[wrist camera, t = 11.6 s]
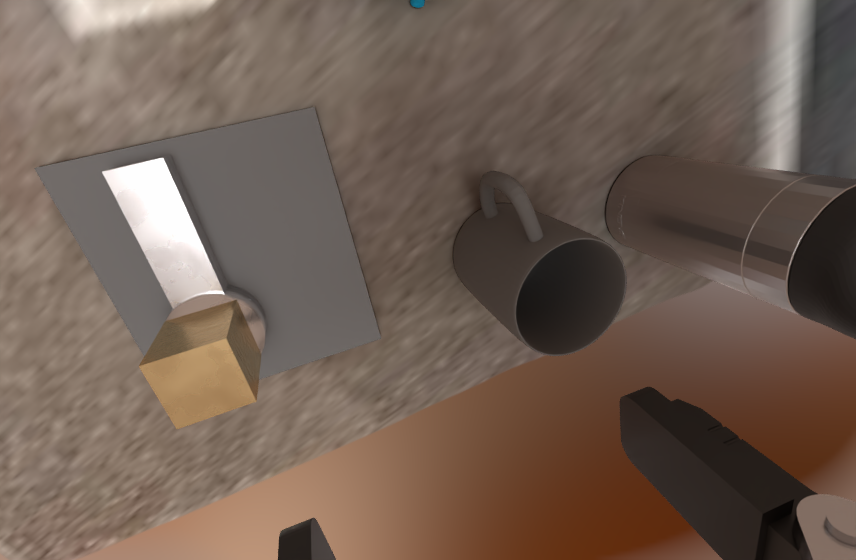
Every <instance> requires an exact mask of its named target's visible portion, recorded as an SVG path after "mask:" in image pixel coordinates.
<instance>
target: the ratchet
mask: <svg viewBox="0 0 856 560" xmlns="http://www.w3.org/2000/svg"><path fill="white" fill-rule="evenodd" d="M102 173H103V175H104V177H105V179H106V181H107V182H108V184H109V186H110V188H111V190H112V192H113V194H114V196H115V198H116V200H117V202H118V204H119V206H120V208H121V209H122V211H123V213H124V215H125V217H126V219H127V221H128V223H129V225H130V227H131V229H132V231H133V233H134V235H135V237H136V238H137V240H138V242H139V244H140V246H141V248H142V250H143V252H144V254H145V256H146V258H147V260H148V262H149V264H150V265H151V267H152V269H153V271H154V273H155V275H156V277H157V279H158V281H159V283H160V285H161V287H162V289H163V291H164V292H165V294H166V296H167V298H168V300H169V302H170V304H171V306H172V308H173V309H172V311H171V312H170V314H169V316H168V318H167V319H166V321H167V320H171V319H174V318H177V317H181V316H184V315H187V314H191V313H194V312H197V311H200V310H204V309H207V308H210V307H214V306H217V305H220V304H224V303H227V302H230V301H234V300H237V301H238V303H239V306H240V308H241V310H242V312H243V315H244V317H245V319H246V321H247V323H248V326H249V328H250V330H251V332H252V335H253V337H254V339H255V341H256V344H257V346H258V348H259V350H260V352H261V353H262V351H263V348H264V344H265V335H266V316H265V313H264V310H263V308H262V306H261V305H260V303H259V302H258V301H257V300H256V299H255V298H254V297H253V296H252V295H251V294H249V293H248V292H246V291H245V290H243V289H240V288H238V287H235V286H232V285H228V283H227V281H226V279H225V276H224V274H223V272H222V270H221V267H220V265H219V263H218V261H217V258H216V256H215V254H214V252H213V249H212V247H211V245H210V243H209V240H208V238H207V236H206V233H205V231H204V229H203V227H202V224H201V222H200V220H199V218H198V215H197V213H196V211H195V209H194V206H193V204H192V202H191V200H190V197H189V195H188V193H187V191H186V188H185V186H184V184H183V182H182V179H181V177H180V175H179V172H178V170H177V168H176V166H175V163H174V161H173V159H172V157H171V155H168V156H164V157H159V158H155V159H150V160H146V161H141V162H137V163H133V164H128V165H124V166H119V167H115V168H111V169H108V170H105V171H102Z"/></svg>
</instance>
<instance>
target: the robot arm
mask: <svg viewBox="0 0 856 560" xmlns="http://www.w3.org/2000/svg"><path fill="white" fill-rule="evenodd" d="M606 221H607V226H608V228H609V231H610V233H611V235H612V236H613V238H614V239H616V240H617V241H618V242H619V243H621V244H623V245H625V246H628V247H630V248H633V249H635V250H638V251H640V252H643V253H645V254H648V255H650V256H652V257H655V258H657V259H660V260H662V261H665V262H667V263H670V264H672V265H675V266H677V267H680V268H682V269H685V270H687V271H690V272H692V273H695V274H697V275H700V276H702V277H705V278H707V279H710V280H712V281H715V282H717V283H720V284H722V285H725V286H727V287H730V288H732V289H735V290H737V291H740V292H742V293H745V294H747V295H750V296H753V297H755V298H758V299H761V300H763V301H765V302H768V303H770V304H773V305H775V306H778V307H780V308H783V309H785V310H788V311H790V312H793V313H795V314H798V315H801V316H803V317H805V318H808V319H810V320H813V321H816V322H818V323H821V324H823V325H826V326H828V327H830V328H832V329H834V330H837V331H839V332H841V333H843V334H845V335H847V336H850V337H852V338H854V339H856V179H849V178H840V177H832V176H824V175H814V174H806V173H798V172H790V171H781V170H773V169H765V168H757V167H749V166H741V165H733V164H725V163H716V162H708V161H700V160H693V159H685V158H677V157H669V156H660V155H650V156H647V157H643V158H641V159H639V160H637V161H635V162H633V163H632V164H631V165H630V166H628V167H627V168H626V169H625V170H624V171H623V172H622V173H621V175H620V176H619V177H618V179H617V180H616V182H615V183H614V185H613V187H612V189H611V192H610V194H609V197H608V201H607V205H606ZM620 424H621V425H620V426H621V442H622V445H623V448H624V450H625V452H626V454H627V456H628V458H629V459H630V461H631V462H632V463H633V464H634V465H635V466H636V468H637V469H638V470H639V471H640V472H641V473H642V474H643V475H644V476H645V477H646V478H647V479H648V480H649V481H650V482H651V483H652V484H653V486H654V487H655V488H656V489H657V490H658V491H659V492H660V493H661V494H662V495H663V496H664V497H665V498H666V499H667V501H668V502H670V504H671V505H672V506H673V507H674V508H675V509H676V510H677V511H678V512H679V513H680V514H681V515H682V517H683V518H684V519H685V520H686V521H687V522H688V523H689V524H690V525H691V526H692V527H693V528H694V529H695V530H696V531H697V533H698V534H699V535H700V536H701V537H702V538H703V539H704V540H705V541H706V542H707V543H708V544H709V545H710V546H711V547H712V548H713V550H714V551H715V552H716V553H717V554H718V555H719V556H720V557H721V558H722V559H723V560H856V502H854V501H851V500H848V499H845V498H842V497H838V496H833V495H825V494H817V493H815V492H813V491H812V490H810V489H809V488H808V487H806V486H805V485H803V484H802V483H800V482H799V481H798V480H797V479H795V478H794V477H793V476H791V475H790V474H789V473H787V472H786V471H785V470H783V469H782V468H781V467H779V466H778V465H776V464H775V463H774V462H772V461H771V460H770V459H768V458H767V457H766V456H764V455H763V454H762V453H760V452H759V451H758V450H756V449H755V448H753V447H752V446H751V445H750V444H748V443H747V442H746V441H744V440H743V439H742V440H740V439H739V438H738V436H737V435H736V434H735V433H733V432H732V431H730V430H729V429H728V428H727V427H723V426H722V424H721V423H720V422H719V421H717V420H716V419H715V418H713V417H712V416H711V415H709V414H708V413H707V412H705V411H704V410H703V409H701V408H698V407H696V406H693V405H691V404H689V403H686V402H684V401H681V400H679V399H676V400H674V401H670V400H668V399H667V398H666V397H665V396H663V395H662V394H660V393H659V392H658V391H657V390H655V389H654V388H652V387H646V388H643V389H640V390H638V391H636V392H633V393H630V394H628V395H625V396H623V397H621V399H620ZM278 560H336V559H335V556H334V554H333V552H332V550H331V548H330V546H329V544H328V542H327V540H326V538H325V536H324V534H323V532H322V530H321V528H320V526H319V524H318V522H317V520H316V519H315V518H312V519H309V520H307V521H304V522H301V523H299V524H296V525H294V526H291V527H289V528H286V529H284V530H282V531H281V533H280V536H279V549H278Z"/></svg>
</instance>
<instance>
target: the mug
mask: <svg viewBox="0 0 856 560" xmlns="http://www.w3.org/2000/svg"><path fill="white" fill-rule="evenodd" d="M494 188H496V189H498V190H500V191H501V192H503V193H504V194H505V195H506V196H507V197H508V198H509V200H510V201H511V203H512V204H510V203H497V204H495V199H494ZM479 193H480V202H481V207H482V209H480V210H479V211H477V212H476V213H474V214H473V215H472V216H471V217H470V218H469V219H468V220H467V221H466V222H465V223H464V225H463V226H462V228H461V229H460V231H459V233H458V235H457V238H456V240H455V244H454V251H453V260H454V266H455V270H456V272H457V275H458V276H459V278H460V280H461V281H462V283H463V284H464V285H465V286H466V287H467V289H468V290H469V291H470V292H471V293H472V294H473V295H474V296H475V297H476V298H477V299H478V300H479V301H480V302H481V303H482V304H483V305H484V306H485V307H486V308H487V309H488V310H489V311H490V312H491V313H492V314H493V315H494V316H495V317H496V318H497V319H498V320H499V321H500V322H501V323H502V324H503V325H504V326H505V327H506V328H507V329H508V330H509V331H510V332H511V333H512V334H514V335H515V336H516V337H517V338H518V339H519V340H520V341H521V342H523V343H524V344H525V345H526V346H528V347H529V348H531V349H532V350H534V351H536V352H538V353H541V354H544V355H550V356H562V355H568V354H571V353H574V352H577V351H579V350H581V349H583V348H585V347H587V346H589V345H590V344H592V343H593V342H595V341H596V340H597V339H598V338H599V337H600V336H602V334H603V333H604V332H605V331H606V330H607V329H608V328H609V327H610V325H611V324H612V323H613V321H614V320H615V318H616V316H617V315H618V313H619V311H620V309H621V306H622V304H623V301H624V297H625V293H626V284H627V277H626V270H625V266H624V263H623V261H622V259H621V257H620V255H619V254H618V253H617V251H616V250H615V249H614V248H613V247H612V246H611V245H609V244H608V243H606V242H605V241H603V240H601V239H600V238H598V237H596V236H593V235H591V234H589V233H587V232H585V231H583V230H580V229H578V228H576V227H573V226H571V225H569V224H566V223H564V222H561V221H559V220H557V219H554V218H552V217H549V216H547V215H544V214H541V213H539V212H536V211H534V209H533V207H532V204H531V202H530V199H529V197H528V195H527V193H526V191H525V190H524V188H523V187H522V186H521V185H520V184H519V183H518V182H517V181H516V180H515V179H514V178H512V177H510V176H509V175H507V174H504V173H501V172H497V171H490V172H487V173H485V174H484V175H483V176H482V178H481V181H480V190H479Z"/></svg>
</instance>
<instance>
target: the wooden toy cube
mask: <svg viewBox="0 0 856 560" xmlns="http://www.w3.org/2000/svg"><path fill="white" fill-rule="evenodd" d="M260 364H261V352H260V350H259V348H258V346H257V344H256V341H255V339H254V337H253V335H252V332H251V330H250V328H249V326H248V323H247V321H246V319H245V317H244V315H243V312H242V310H241V308H240V306H239V303H238V301H237V300H234V301H230V302H227V303H224V304H220V305H217V306H214V307H210V308H207V309H204V310H200V311H197V312H194V313H191V314H187V315H184V316H181V317H177V318H174V319H171V320H167V321H165V322H164V324H163V326H162V327H161V329H160V331H159V332H158V334H157V336H156V338H155V339H154V341H153V343H152V344H151V346H150V348H149V350H148V351H147V353H146V355H145V356H144V358H143V360H142V362H141V363H140V365H139V368H140V369H141V371H142V372H143V374H144V376H145V377H146V379H147V381H148V382H149V384H150V386H151V387H152V389H153V391H154V392H155V394H156V396H157V397H158V399H159V400H160V402H161V404H162V405H163V407H164V409H165V410H166V412H167V414H168V415H169V417H170V419H171V420H172V422H173V424H174V425H175V427H176V429H179V428H182V427H185V426H188V425H191V424H193V423H196V422H199V421H202V420H205V419H208V418H211V417H213V416H216V415H219V414H222V413H225V412H228V411H231V410H233V409H236V408H239V407H242V406H245V405H248V404H251V403H253V402H256V401H257V392H258V383H259V374H260Z"/></svg>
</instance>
